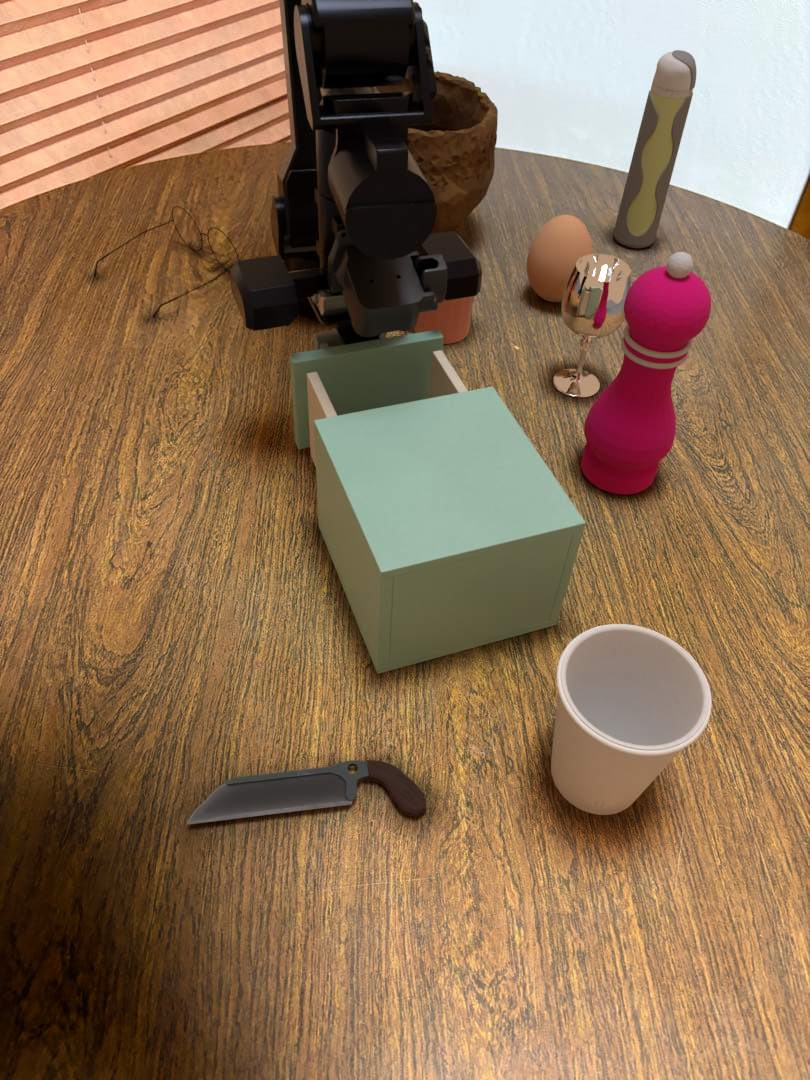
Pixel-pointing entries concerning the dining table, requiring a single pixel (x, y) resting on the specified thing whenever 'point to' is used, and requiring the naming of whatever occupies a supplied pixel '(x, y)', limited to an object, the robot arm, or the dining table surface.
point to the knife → (306, 791)
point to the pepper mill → (645, 378)
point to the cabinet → (442, 525)
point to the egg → (556, 255)
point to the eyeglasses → (186, 244)
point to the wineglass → (592, 313)
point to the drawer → (366, 377)
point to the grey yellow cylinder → (656, 150)
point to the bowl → (454, 147)
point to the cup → (448, 319)
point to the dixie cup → (623, 714)
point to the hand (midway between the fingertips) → (357, 369)
